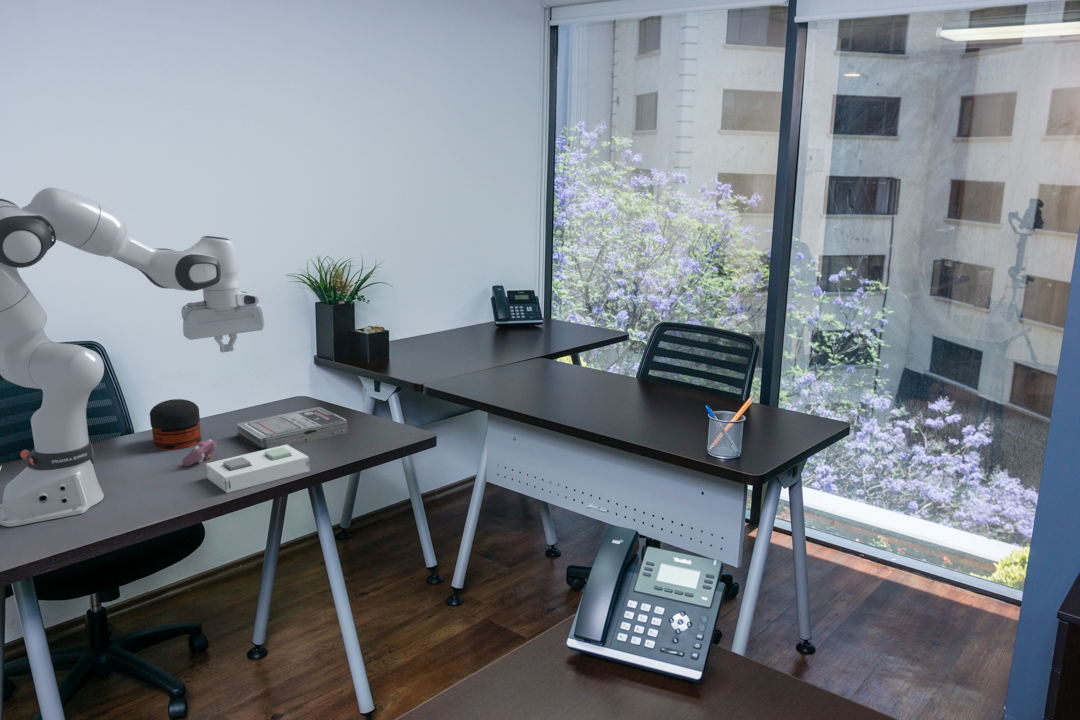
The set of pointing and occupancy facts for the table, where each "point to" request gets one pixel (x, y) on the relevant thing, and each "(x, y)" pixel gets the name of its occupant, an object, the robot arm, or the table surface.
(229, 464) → the grey key
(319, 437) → the hard drive
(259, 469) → the key panel
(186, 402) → the oil filter
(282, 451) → the sage key
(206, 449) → the video game controller
